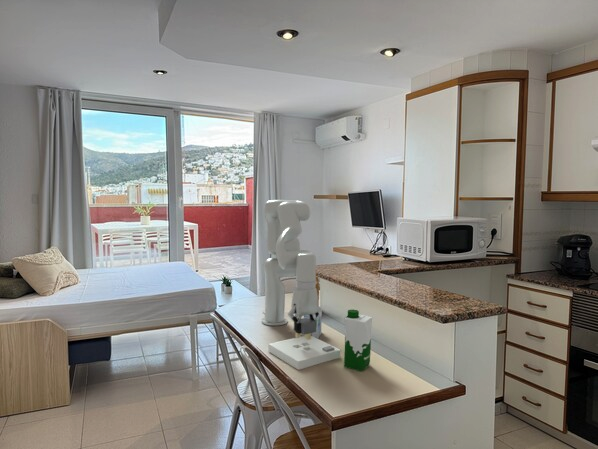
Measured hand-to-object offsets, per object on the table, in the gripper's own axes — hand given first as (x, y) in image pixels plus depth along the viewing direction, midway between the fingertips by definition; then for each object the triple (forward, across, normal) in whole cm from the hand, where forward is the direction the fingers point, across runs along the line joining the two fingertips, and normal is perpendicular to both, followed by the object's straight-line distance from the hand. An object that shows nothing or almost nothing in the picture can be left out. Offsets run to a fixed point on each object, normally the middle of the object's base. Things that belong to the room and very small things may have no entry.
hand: (304, 330), depth 152 cm
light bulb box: (+9, -16, -16) cm, 24 cm away
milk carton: (+10, -10, +18) cm, 23 cm away
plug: (+3, 0, 0) cm, 3 cm away
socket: (+9, 0, 0) cm, 9 cm away
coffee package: (+9, -40, -52) cm, 66 cm away
